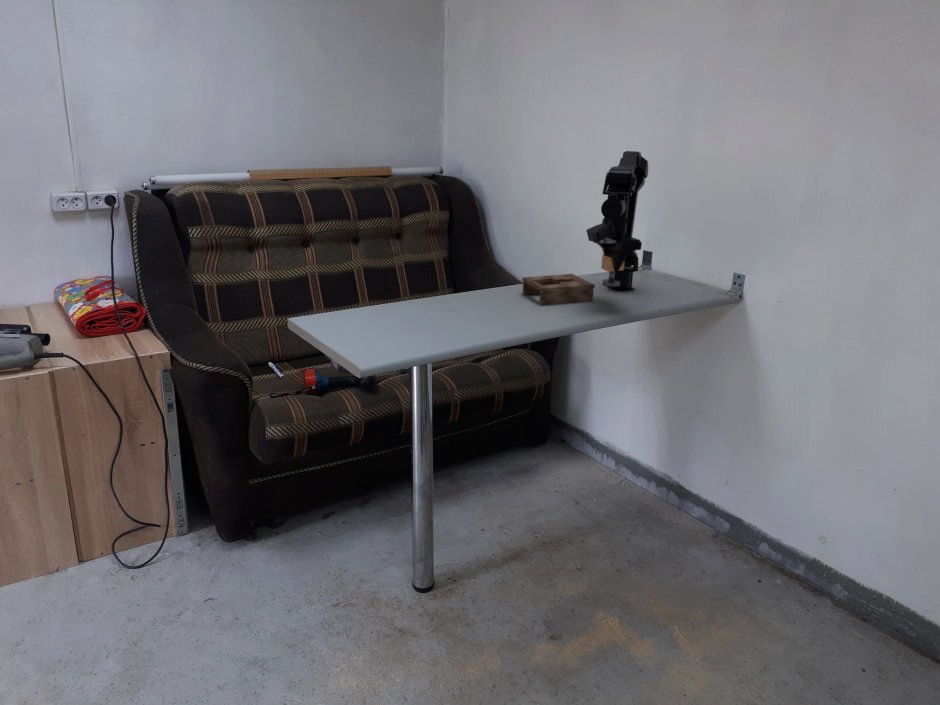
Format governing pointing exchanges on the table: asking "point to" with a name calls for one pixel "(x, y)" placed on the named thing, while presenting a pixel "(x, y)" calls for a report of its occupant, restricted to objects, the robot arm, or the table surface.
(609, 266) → the hanger peg
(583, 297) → the keyhole bracket
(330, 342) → the table surface
